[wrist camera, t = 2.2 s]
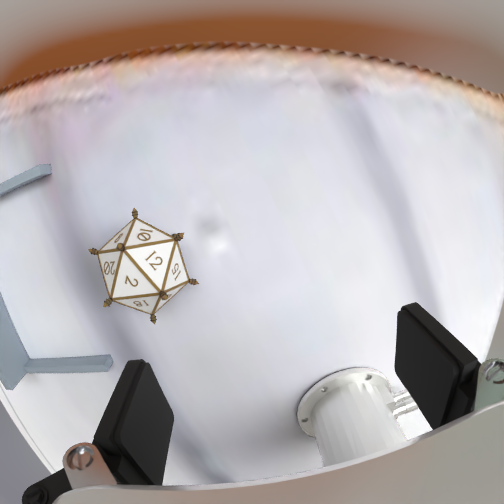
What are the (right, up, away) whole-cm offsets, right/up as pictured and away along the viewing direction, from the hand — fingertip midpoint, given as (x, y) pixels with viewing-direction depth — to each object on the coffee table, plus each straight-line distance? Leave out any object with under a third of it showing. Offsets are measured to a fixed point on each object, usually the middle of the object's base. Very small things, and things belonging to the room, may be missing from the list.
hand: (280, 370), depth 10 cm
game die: (-10, +4, +18) cm, 21 cm away
